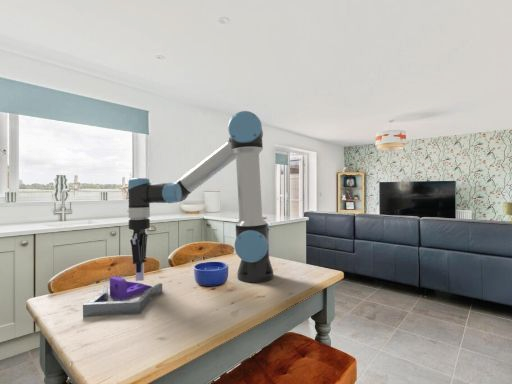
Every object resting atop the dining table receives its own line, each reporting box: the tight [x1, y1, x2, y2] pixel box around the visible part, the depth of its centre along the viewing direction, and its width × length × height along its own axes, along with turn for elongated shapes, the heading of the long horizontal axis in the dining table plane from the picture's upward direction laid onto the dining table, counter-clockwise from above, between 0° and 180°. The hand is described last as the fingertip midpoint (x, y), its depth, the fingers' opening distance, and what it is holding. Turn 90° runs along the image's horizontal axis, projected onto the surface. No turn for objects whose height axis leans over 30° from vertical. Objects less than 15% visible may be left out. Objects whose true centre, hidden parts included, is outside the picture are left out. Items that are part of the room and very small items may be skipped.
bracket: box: [109, 275, 153, 301], centre depth 100 cm, size 12×7×7 cm, turn 147°
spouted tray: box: [82, 282, 163, 318], centre depth 91 cm, size 20×19×4 cm
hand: (139, 280), depth 107 cm, fingers closed
